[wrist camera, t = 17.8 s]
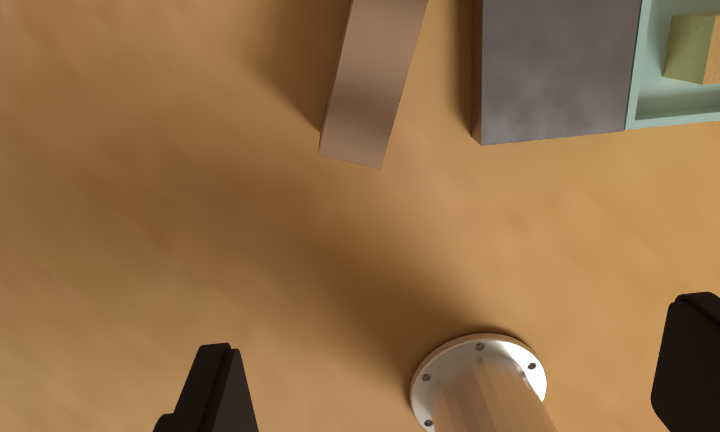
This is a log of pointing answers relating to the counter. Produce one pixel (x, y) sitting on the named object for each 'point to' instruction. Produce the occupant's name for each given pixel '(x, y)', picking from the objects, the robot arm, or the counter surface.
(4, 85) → the counter surface
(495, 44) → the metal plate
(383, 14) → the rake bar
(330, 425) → the counter surface
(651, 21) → the teal tray
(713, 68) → the brass block
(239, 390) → the robot arm
